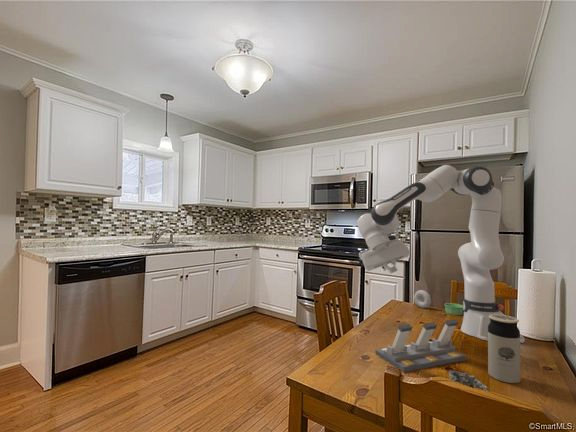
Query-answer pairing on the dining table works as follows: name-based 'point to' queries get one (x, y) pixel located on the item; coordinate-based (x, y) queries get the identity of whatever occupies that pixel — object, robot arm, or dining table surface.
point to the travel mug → (504, 348)
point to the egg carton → (466, 380)
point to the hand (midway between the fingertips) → (394, 271)
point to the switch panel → (421, 355)
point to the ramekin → (453, 308)
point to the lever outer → (401, 337)
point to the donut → (426, 297)
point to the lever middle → (425, 334)
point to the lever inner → (447, 331)
